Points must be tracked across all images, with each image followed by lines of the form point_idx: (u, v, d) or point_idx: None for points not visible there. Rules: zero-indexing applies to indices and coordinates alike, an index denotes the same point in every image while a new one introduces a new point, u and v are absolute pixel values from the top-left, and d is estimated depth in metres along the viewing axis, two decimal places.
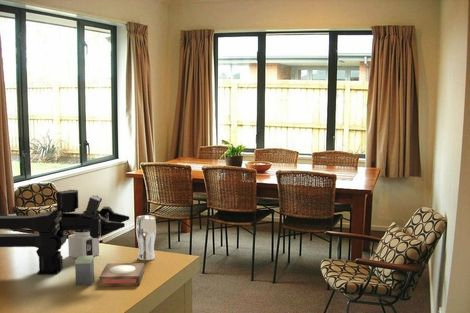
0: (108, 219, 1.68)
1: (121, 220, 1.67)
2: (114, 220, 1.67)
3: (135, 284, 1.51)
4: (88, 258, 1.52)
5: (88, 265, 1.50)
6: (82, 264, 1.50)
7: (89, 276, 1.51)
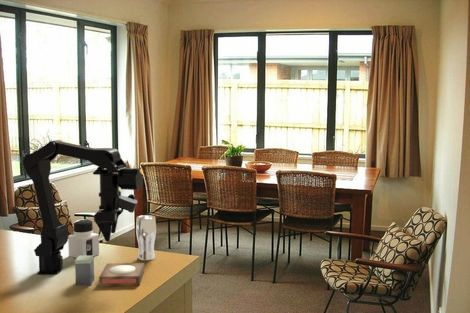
0: None
1: None
2: None
3: (135, 284, 1.51)
4: (88, 258, 1.52)
5: (88, 265, 1.50)
6: (82, 264, 1.50)
7: (89, 276, 1.51)
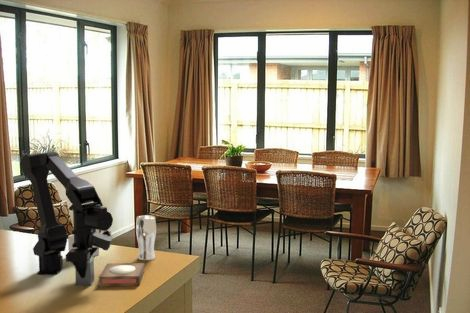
0: None
1: None
2: None
3: (135, 284, 1.51)
4: None
5: (88, 265, 1.50)
6: None
7: (89, 276, 1.51)
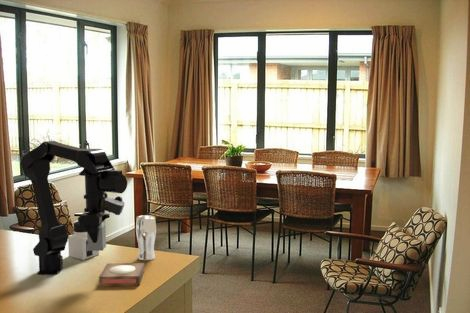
0: None
1: None
2: None
3: (135, 284, 1.51)
4: None
5: (100, 230, 1.50)
6: None
7: (101, 241, 1.50)
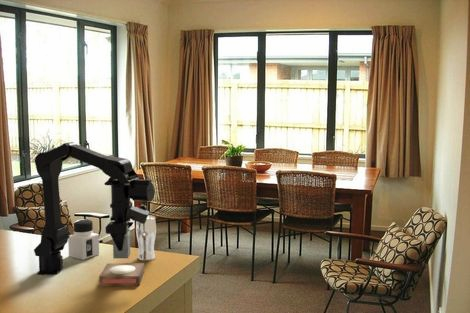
0: None
1: None
2: None
3: (135, 284, 1.51)
4: None
5: (125, 238, 1.53)
6: None
7: (126, 249, 1.53)
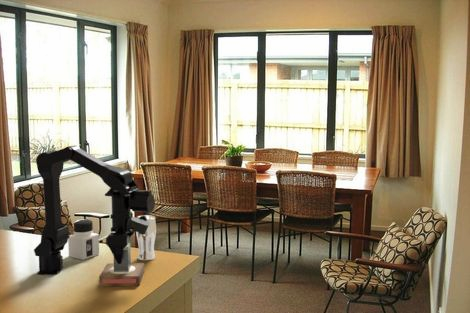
0: None
1: None
2: None
3: (135, 284, 1.51)
4: None
5: (126, 251, 1.54)
6: None
7: (127, 262, 1.54)
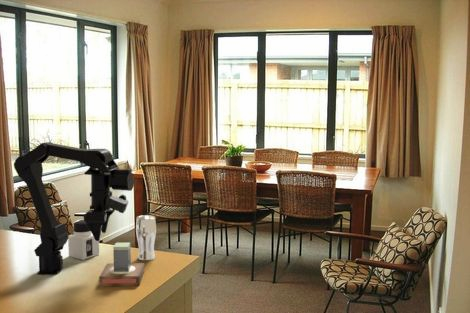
0: None
1: None
2: None
3: (135, 284, 1.51)
4: (126, 245, 1.55)
5: (126, 251, 1.54)
6: (120, 250, 1.53)
7: (127, 262, 1.54)
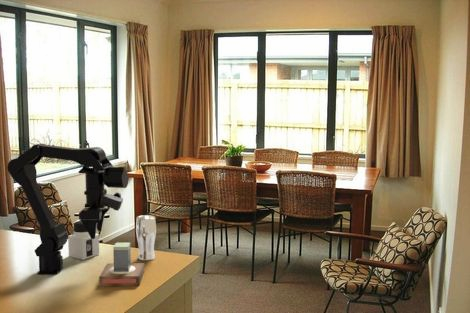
0: None
1: (96, 223, 1.64)
2: None
3: (135, 284, 1.51)
4: (126, 245, 1.55)
5: (126, 251, 1.54)
6: (120, 250, 1.53)
7: (127, 262, 1.54)
